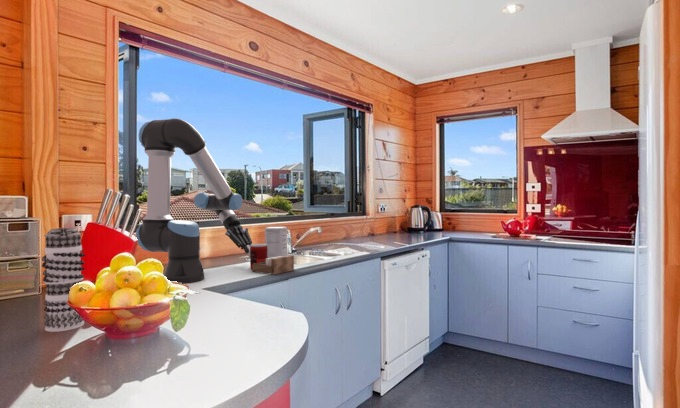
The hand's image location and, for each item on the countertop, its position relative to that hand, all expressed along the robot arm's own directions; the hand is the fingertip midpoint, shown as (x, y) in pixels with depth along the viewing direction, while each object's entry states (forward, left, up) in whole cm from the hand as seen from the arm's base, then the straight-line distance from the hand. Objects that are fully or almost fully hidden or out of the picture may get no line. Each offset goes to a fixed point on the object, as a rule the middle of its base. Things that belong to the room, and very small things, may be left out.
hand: (253, 257), depth 190 cm
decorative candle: (-87, -26, -5) cm, 91 cm away
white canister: (+25, +9, -5) cm, 27 cm away
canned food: (-1, -5, -5) cm, 7 cm away
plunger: (-1, -14, -5) cm, 15 cm away
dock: (-1, -14, -5) cm, 15 cm away
